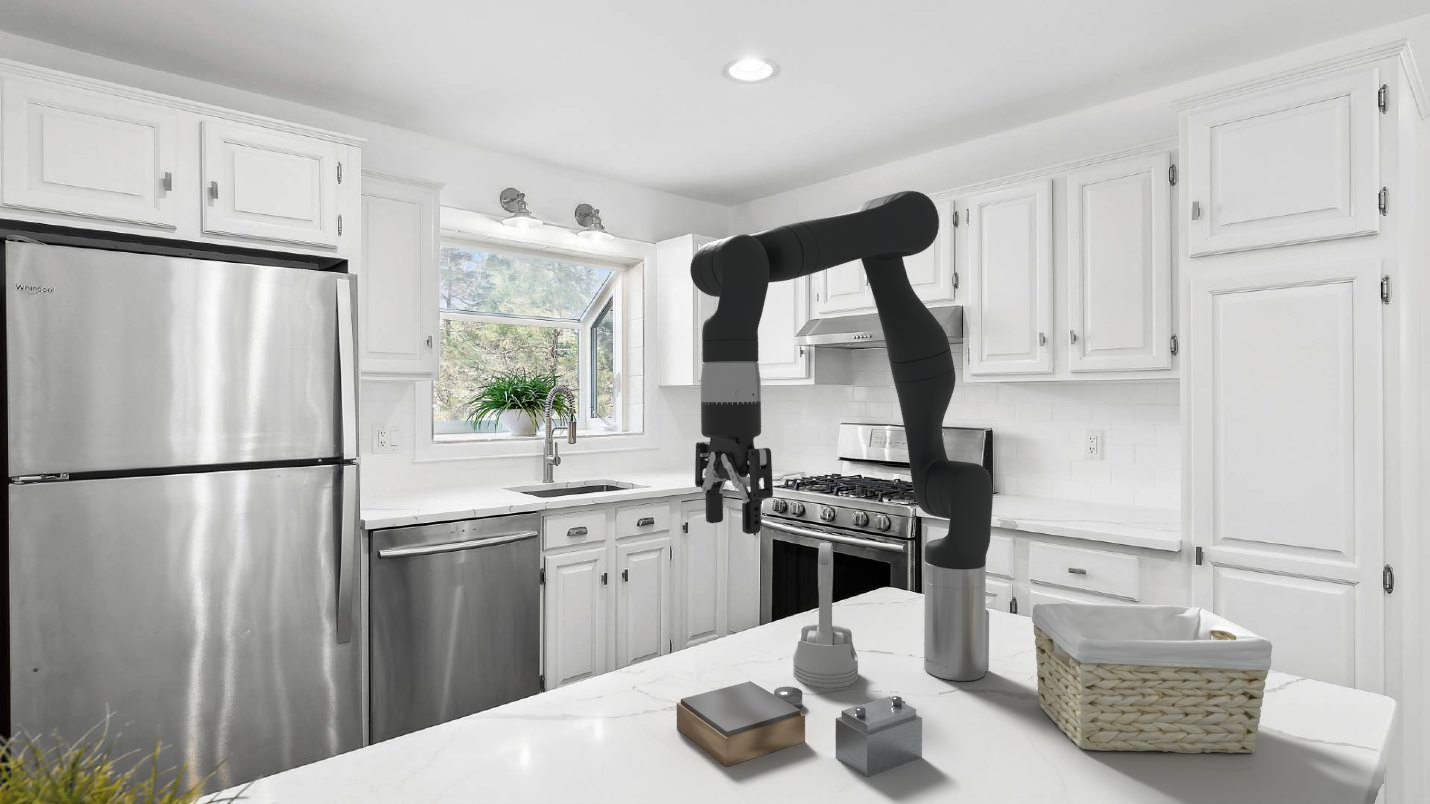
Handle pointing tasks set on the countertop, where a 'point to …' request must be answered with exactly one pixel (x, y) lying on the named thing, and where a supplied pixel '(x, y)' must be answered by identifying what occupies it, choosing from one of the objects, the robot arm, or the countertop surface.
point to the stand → (740, 722)
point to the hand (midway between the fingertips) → (732, 527)
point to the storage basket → (1150, 677)
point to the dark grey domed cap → (790, 695)
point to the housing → (878, 736)
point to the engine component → (825, 638)
